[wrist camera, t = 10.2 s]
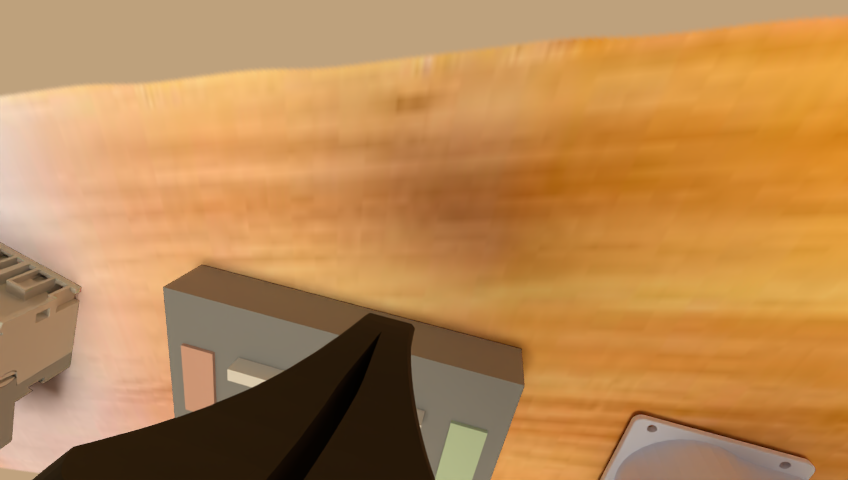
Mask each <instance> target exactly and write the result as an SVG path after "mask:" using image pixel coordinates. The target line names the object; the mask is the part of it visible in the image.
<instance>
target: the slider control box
mask: <svg viewBox="0 0 848 480" xmlns="http://www.w3.org/2000/svg"><path fill="white" fill-rule="evenodd" d="M163 291H164V302H165V313H166V324H167V335H168V346H169V358H170V369H171V380H172V391H173V402H174V413H175V418H177V417H180V416H182V415H185V414H188V413H191V412H194V411H196V410H199V409H202V408H205V407H207V406H210V405H212V404H215V403H217V402H219V401H222V400H224V399H227V398H229V397H231V396H234V395H236V394H238V393H241V392H243V391H245V390H248V389H250V388H252V387H254V386H256V385H258V384H260V383H262V382H264V381H266V380H268V379H270V378H272V377H274V376H276V375H278V374H279V373H281V372H283V371H285V370H286V369H288V368H290V367H292V366H293V365H295V364H297V363H298V362H300V361H301V360H303V359H305V358H306V357H308V356H310V355H311V354H313V353H314V352H316V351H317V350H319V349H320V348H322V347H323V346H325V345H326V344H328V343H329V342H330V341H332V340H333V339H335V338H336V337H338V336H339V335H340V334H342V333H343V332H344V331H346V330H347V329H348V328H350V327H351V326H352V325H354V324H355V323H356V322H357V321H359V320H360V319H361V318H363V317H364V316H365V315H367V314H369V313H373V314H377V315H380V316H384V317H388V318H392V319H396V320H399V321H403V322H407V323H411V324H412V325H413V326H414V328H415V331H414V336H413V341H412V346H411V368H412V382H413V390H414V397H415V404H416V409H417V415H418V420H419V425H420V429H421V433H422V437H423V441H424V445H425V448H426V452H427V456H428V459H429V462H430V465H431V468H432V471H433V474H434V477H435V480H490V479H491V477H492V474H493V471H494V468H495V465H496V463H497V460H498V457H499V454H500V452H501V449H502V446H503V443H504V441H505V438H506V435H507V432H508V430H509V427H510V424H511V421H512V419H513V416H514V413H515V410H516V408H517V405H518V402H519V399H520V397H521V394H522V391H523V388H524V374H523V361H522V349H520V348H516V347H512V346H508V345H505V344H501V343H497V342H493V341H489V340H486V339H482V338H478V337H474V336H470V335H467V334H463V333H459V332H455V331H451V330H448V329H444V328H440V327H436V326H432V325H429V324H425V323H421V322H417V321H413V320H410V319H406V318H402V317H398V316H394V315H391V314H387V313H383V312H379V311H375V310H372V309H368V308H364V307H360V306H356V305H353V304H349V303H345V302H341V301H337V300H334V299H330V298H326V297H322V296H318V295H315V294H311V293H307V292H303V291H299V290H296V289H292V288H288V287H284V286H280V285H277V284H273V283H269V282H265V281H262V280H258V279H254V278H250V277H246V276H243V275H239V274H235V273H231V272H227V271H224V270H220V269H216V268H212V267H208V266H205V265H200V266H199V267H197V268H195V269H193V270H192V271H190V272H188V273H187V274H185V275H183V276H181V277H180V278H178V279H176V280H175V281H173V282H171V283H169V284H168V285H166V286H164V287H163Z"/></svg>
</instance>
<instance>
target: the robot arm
mask: <svg viewBox="0 0 848 480" xmlns="http://www.w3.org/2000/svg"><path fill="white" fill-rule="evenodd" d="M414 331H415V328H414V326H413V325H412V324H411V323H407V322H403V321H399V320H396V319H392V318H388V317H384V316H380V315H377V314H373V313H369V314H367V315H365V316H364V317H363V318H361V319H360V320H359V321H357V322H356V323H355V324H354V325H352V326H351V327H350V328H348V329H347V330H346V331H344V332H343V333H342V334H340V335H339V336H338V337H336V338H335V339H333V340H332V341H330V342H329V343H328V344H326V345H325V346H323V347H322V348H320V349H319V350H317V351H316V352H314V353H313V354H311V355H310V356H308V357H306V358H305V359H303V360H301V361H300V362H298V363H297V364H295V365H293V366H292V367H290V368H288V369H286V370H285V371H283V372H281V373H279V374H278V375H276V376H274V377H272V378H270V379H268V380H266V381H264V382H262V383H260V384H258V385H256V386H254V387H252V388H250V389H248V390H245V391H243V392H241V393H238V394H236V395H234V396H231V397H229V398H227V399H224V400H222V401H219V402H217V403H215V404H212V405H210V406H207V407H205V408H202V409H199V410H196V411H194V412H191V413H188V414H185V415H182V416H180V417H177V418H173V419H170V420H167V421H164V422H161V423H158V424H155V425H152V426H149V427H145V428H142V429H139V430H135V431H131V432H128V433H124V434H120V435H117V436H113V437H109V438H106V439H102V440H98V441H94V442H91V443H87V444H83V445H79V446H75V447H73V448H71V449H70V450H69V451H68V452H66V453H65V454H64V455H62V456H61V457H60V458H59V459H57V460H56V461H55V462H53V463H52V464H51V465H50V466H48V467H47V468H46V469H45V470H43V471H42V472H41V473H40V474H39V475H38V476H36V477H35V478H34V479H33V480H435V477H434V474H433V471H432V468H431V465H430V462H429V459H428V456H427V452H426V448H425V445H424V441H423V437H422V433H421V429H420V425H419V420H418V415H417V409H416V404H415V397H414V390H413V382H412V368H411V346H412V341H413V336H414ZM650 425H653V426H651V427H648V426H650ZM814 472H815V467H814V466H813V464H812V463H811V462H810V461H809V460H807V459H805V458H801V457H797V456H794V455H790V454H786V453H783V452H779V451H775V450H772V449H768V448H764V447H761V446H757V445H753V444H749V443H746V442H742V441H738V440H735V439H731V438H727V437H724V436H720V435H716V434H713V433H709V432H705V431H702V430H698V429H694V428H691V427H687V426H683V425H680V424H676V423H672V422H669V421H665V420H661V419H658V418H654V417H650V416H646V415H641V414H640V415H636V416H634V417H633V418H632V419H631V421H630V423H629V425H628V427H627V429H626V431H625V433H624V435H623V437H622V439H621V440H620V442H619V444H618V446H617V448H616V450H615V452H614V454H613V456H612V458H611V460H610V462H609V463H608V465H607V467H606V469H605V471H604V473H603V475H602V477H601V479H600V480H809V478H810V477H811V476H812V475H813V474H814Z"/></svg>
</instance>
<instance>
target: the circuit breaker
mask: <svg viewBox="0 0 848 480" xmlns="http://www.w3.org/2000/svg"><path fill="white" fill-rule="evenodd" d="M6 255H7V256H9V258H8V257H7V256H6ZM41 274H42V275H44V276H46V277H47V278H48V279H47V278H45V277H43V276H41ZM60 285H61V286H62V287H63V288H61V289H60ZM79 292H81V287H80V286H79V285H77V284H75V283H73V282H71V281H69V280H68V279H66V278H64V277H62V276H60V275H59V274H57V273H55V272H53V271H51V270H49V269H48V268H46V267H44V266H42V265H40V264H39V263H37V262H35V261H33V260H31V259H29V258H28V257H26V256H24V255H22V254H20V253H18V252H17V251H15V250H13V249H11V248H9V247H8V246H6V245H4V244H2V243H0V449H1V448H2V447H4V446H5V445H7V444H8V443H9V442H11V440H12V432H13V419H14V406H15V402H16V401H17V400H19V399H20V398H22V397H24V396H25V395H27V394H28V393H30V392H31V391H33V390H31V389H29V388H28V387H29V386H31V385H33V384H34V383H36V382H37V381H39V382H41V383H42V384H44V383H45V382H47V381H48V380H50V379H51V378H53V377H54V376H56V375H58V374H59V373H61V372H62V371H64V370H65V369H67V368H69V366H70V363H71V356H72V349H73V342H74V335H75V328H76V321H77V314H78V307H79V301H78V300H76V299H74V298H75V294H77V293H79Z"/></svg>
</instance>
